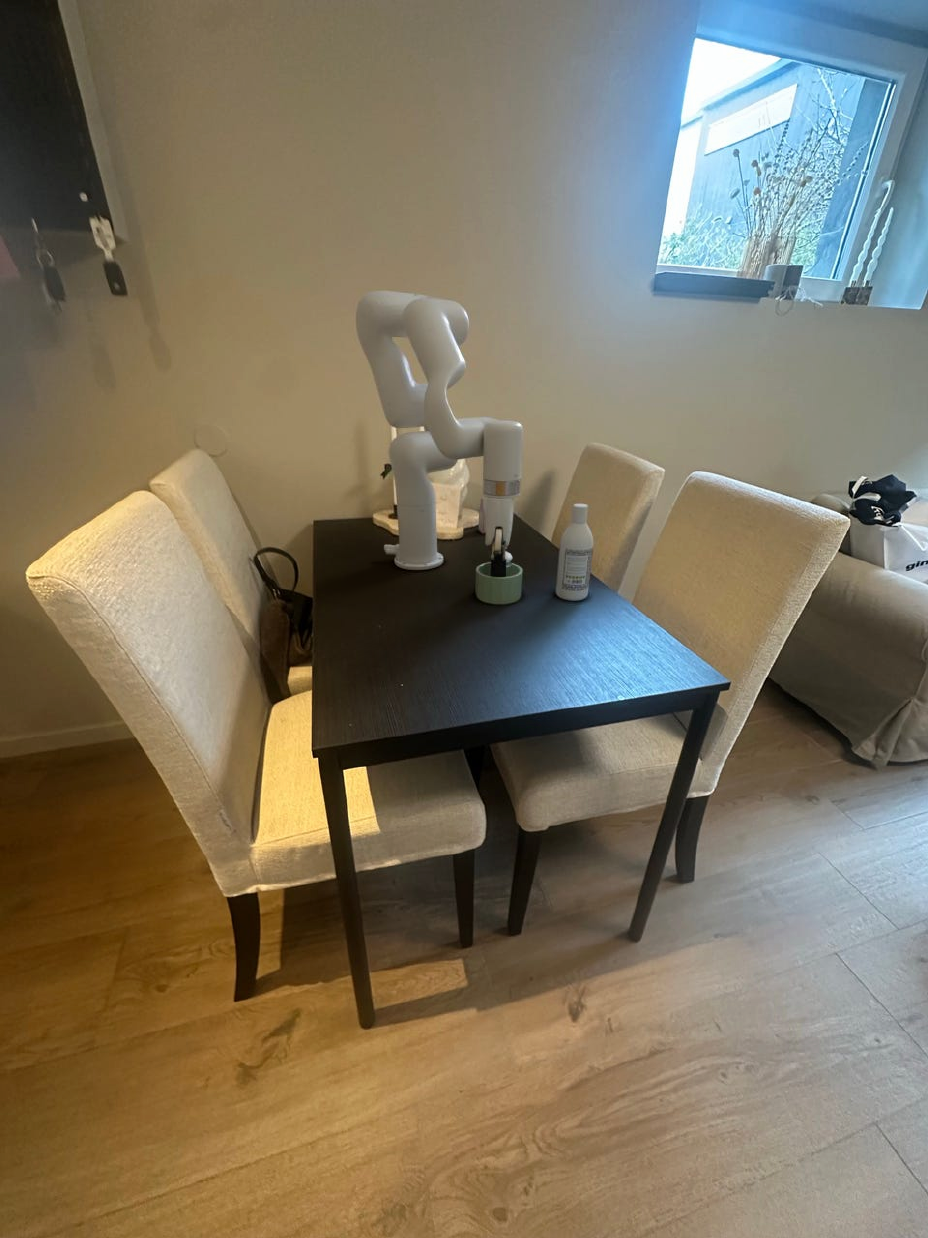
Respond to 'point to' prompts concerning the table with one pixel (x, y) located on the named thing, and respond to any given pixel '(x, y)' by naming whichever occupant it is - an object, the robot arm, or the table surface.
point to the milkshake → (507, 563)
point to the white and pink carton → (482, 515)
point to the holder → (498, 585)
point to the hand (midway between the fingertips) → (499, 571)
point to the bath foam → (575, 557)
